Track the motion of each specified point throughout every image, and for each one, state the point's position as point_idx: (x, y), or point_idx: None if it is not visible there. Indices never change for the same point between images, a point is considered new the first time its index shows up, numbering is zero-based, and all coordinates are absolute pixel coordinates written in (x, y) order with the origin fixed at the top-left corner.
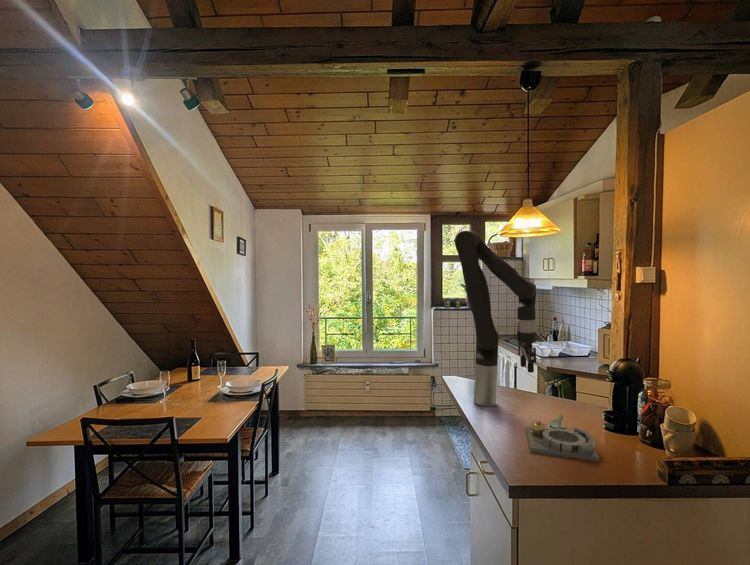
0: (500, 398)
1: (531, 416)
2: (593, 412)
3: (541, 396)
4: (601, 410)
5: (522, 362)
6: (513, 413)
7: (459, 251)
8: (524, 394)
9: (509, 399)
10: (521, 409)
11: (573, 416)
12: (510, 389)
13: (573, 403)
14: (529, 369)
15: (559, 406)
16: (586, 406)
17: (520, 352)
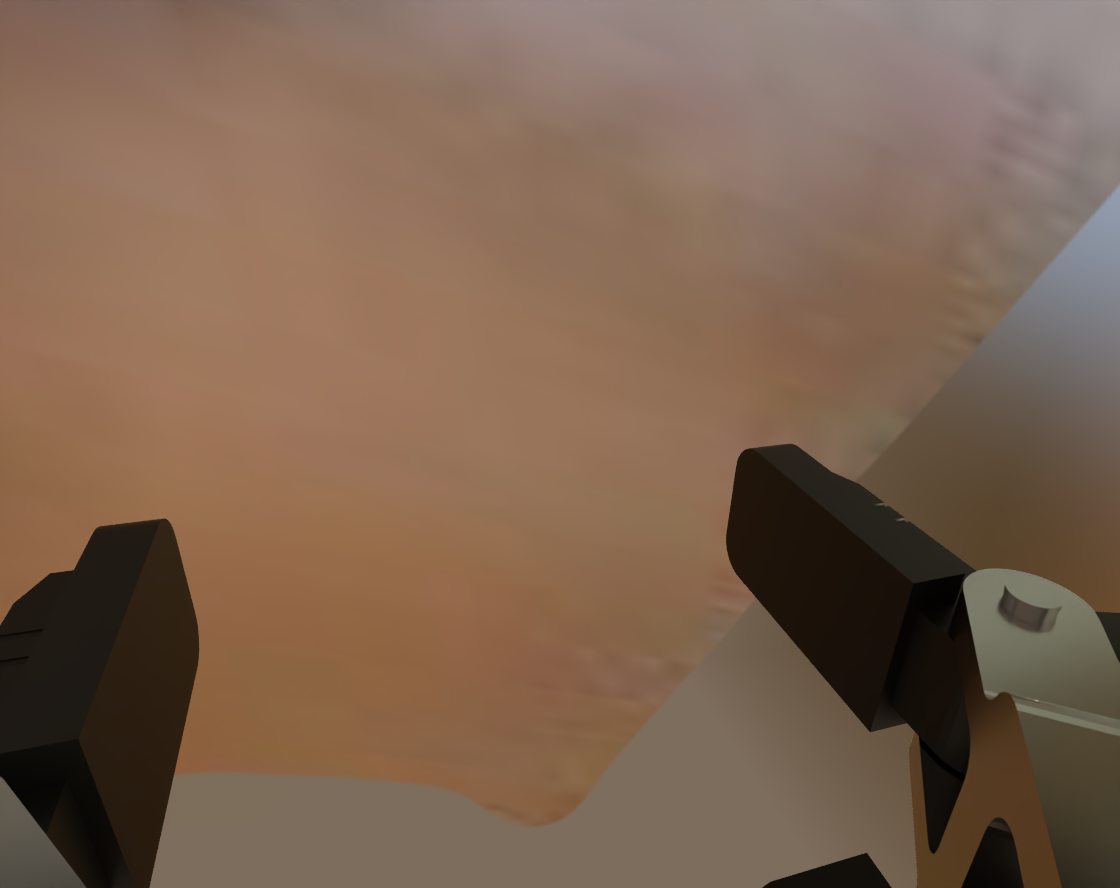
0: (796, 60)
1: (204, 262)
2: (443, 770)
3: None
4: (492, 812)
5: (806, 539)
6: (259, 46)
7: None
8: (866, 377)
9: (754, 170)
10: (433, 212)
11: (316, 643)
12: (1016, 279)
13: (628, 688)
14: (46, 611)
15: (556, 589)
16: (567, 749)
17: (1069, 793)
